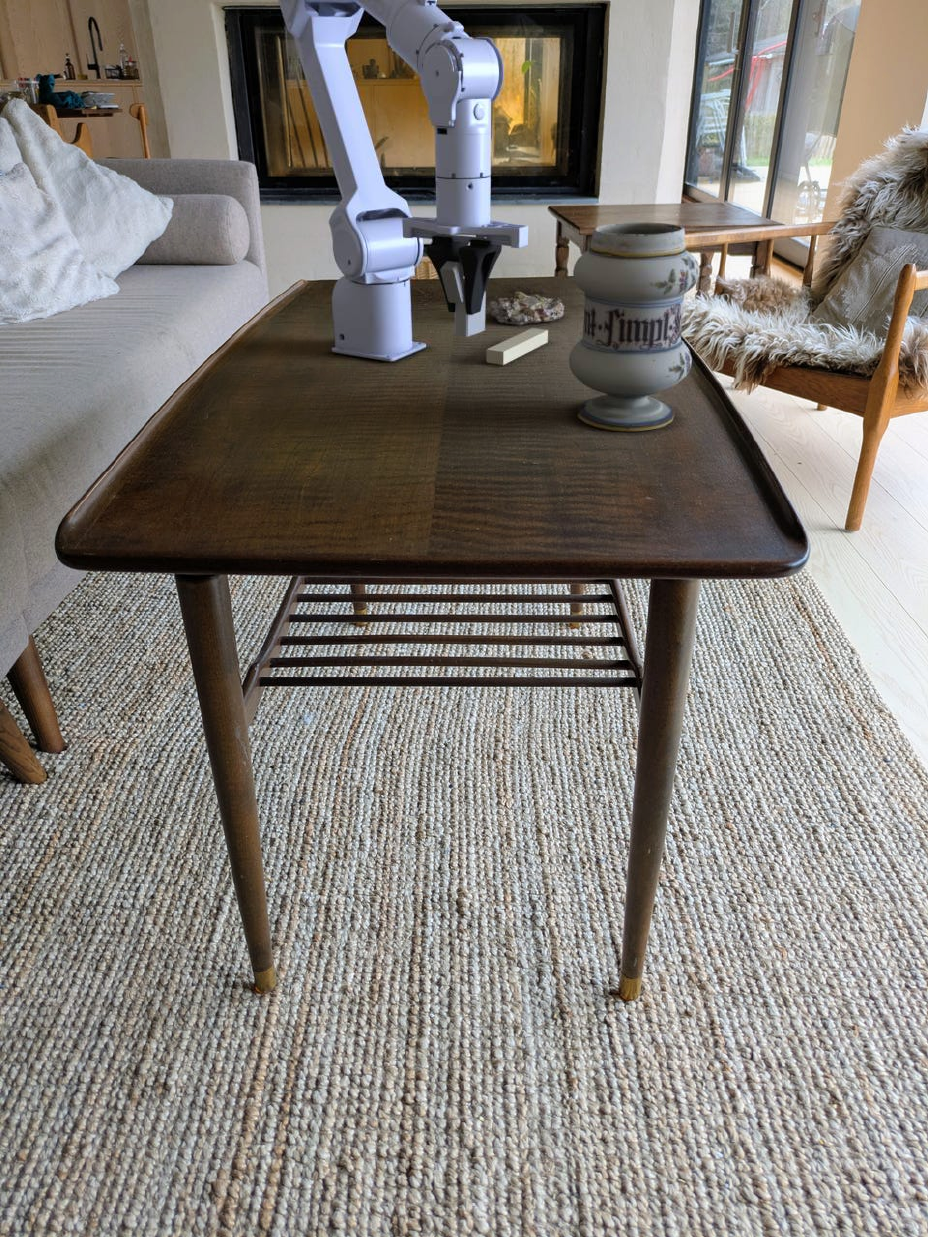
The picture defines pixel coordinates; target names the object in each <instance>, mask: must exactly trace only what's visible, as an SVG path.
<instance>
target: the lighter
mask: <svg viewBox="0 0 928 1237" xmlns="http://www.w3.org/2000/svg"><path fill="white" fill-rule="evenodd" d="M440 271H441V275H442V279H443V283H444V287H445V290H446V294H447V298H448V301H449V302H451V303H455V312H454V336H457V337H458V336H459V337H472V336H473V335H477V334H480V333H482V332H485V331H486V302H487V301H486V299H487V298H486V296H487V291H486V290H485V293H484V297H483V301H482V306H481V312H478V313H476V314H473V315H468V314H466V308H465V281H464V279H463V275H462V271H461V266H460V264H459V263H458V262H449V261H447V262H446V263H445V264H444V266H443V267H442V268H441V269H440Z"/></svg>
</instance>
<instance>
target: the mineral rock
mask: <svg viewBox="0 0 928 1237" xmlns="http://www.w3.org/2000/svg"><path fill="white" fill-rule="evenodd" d="M489 307H490V312H491V316H492V317H494V318H496V320H497V322H499V323H501V324H502V323H505V324H506V325H516V326H522V325H529V324H538V323H541V322H545V323H547V322H553V321H555V320H558V319H561V318H563V316H564V313H565V312H564V310H565V304H563V301H562V300H561V299H560V298H550V297H544V296H540V295H539V294H531V295H526V294H525V293H523V292H521V291H515V292H514V297H513V298H512V297H509V298H507V297H506V296H504V297H499V298H498V299H497V300H493V301H490V302H489Z"/></svg>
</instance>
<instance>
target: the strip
mask: <svg viewBox="0 0 928 1237" xmlns="http://www.w3.org/2000/svg"><path fill="white" fill-rule="evenodd" d="M548 343H549V329H543V328H536V327H535V328H534V327H531V328H529V329H526V330H525V331H523V332H521V333H519V334H516V335H514V336H512V337H510V338H508V339H506V340H504V341H501V342H500V343H497V344H495V345H493V346H491V347H488V348H487V349H486V354H485V355H486V358H485V360H486V363H488V364H494V365H499V366H504V365H506V364H509V363H510V362H512V361H514V360H516V359H518V358H520V357H522V356H524V355H526V354H528V353H530V352H532V351H534V350H536V349H538V348H540V347H541V346H544V345H545V344H548Z"/></svg>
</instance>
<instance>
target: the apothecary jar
mask: <svg viewBox="0 0 928 1237" xmlns="http://www.w3.org/2000/svg"><path fill="white" fill-rule="evenodd" d="M591 235H592V237H591V242H590V243H589V247H588V249H587V250H586V251H585V252H583V253H582V254H581V255H580V256H579V257H578V259H577V260H576V261H575V264H574V266H573V270H572V271H573V272H572V275H573V280H574V283H575V285H576V286H577V288H579V289H580V290H581V291H582V292H583V293H584V294H583V295H584V299H583V300H584V301H583V302H584V306H583V307H584V308H583V326H582V328H583V329H582V336H581V337H582V338H581V339H579V341H577V342H576V343H575V345H574V346H573V347H572V348H571V350H570V353H569V356H568V365H569V369H570V371H571V373H572V374H573V376H574V377H575V378H576V379H577V380H578V381H579V382H580V383H581V384H582V385H584V386H586V387H587V388H589V389H591V390H594V391H597V392H599V393H602V395H599V396H596V397H593V398H590V399H587V400H585V401H583V402H582V403H581V404H579V405H578V411H579V412H578V414H577V417H578V418H579V420H581V421H582V422H583V423H584V424H587V425H589V426H592V427H595V428H598V429H602V430H607V431H613V432H624V433H625V432H628V433H629V432H631V433H636V432H645V431H652V430H658V429H661V428H664V427H665V426H667V425H669V424H671V423H672V422H673V420H674V419H675V412H674V411H673V409H672V408H671V407H670V406H668V405H667V404H666V403H664V402H662V401H660V400H658V399H657V398H654V397H652V396H651V395H654V394H657V393H661V392H662V391H665V390H668V389H670V388H672V387H674V386H676V385H677V384H679V383H681V381H682V380H684V379H685V378H686V377H687V376H688V374H689V373H690V371H691V368H692V363H693V358H692V353H691V351H690V349H689V346H687V344H686V343H685V341H683V339H682V331H683V330H682V328H683V313H684V312H683V311H684V303H685V302H684V301H685V294H686V293H688V292H689V291H691V290H692V289H693V288H694V287H695V286H696V284H697V283H698V281H699V278H700V272H701V270H700V264H699V263H698V261H697V260H696V258H695V257H694V255H693V254H691V253H690V252H689V251H688V250H687V243H686V241H685V239H686V238H685V237H686V229H685V228H684V226H681V225H679V224H672V223H666V222H647V221H646V222H645V221H644V222H642V221H634V222H633V221H632V222H630V221H629V222H617V223H615V222H614V223H608V224H603V225H599V226H596V227H595V228H594V229H593V232H592V234H591Z"/></svg>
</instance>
